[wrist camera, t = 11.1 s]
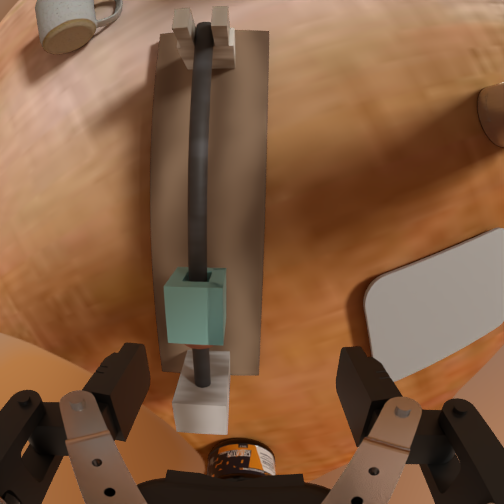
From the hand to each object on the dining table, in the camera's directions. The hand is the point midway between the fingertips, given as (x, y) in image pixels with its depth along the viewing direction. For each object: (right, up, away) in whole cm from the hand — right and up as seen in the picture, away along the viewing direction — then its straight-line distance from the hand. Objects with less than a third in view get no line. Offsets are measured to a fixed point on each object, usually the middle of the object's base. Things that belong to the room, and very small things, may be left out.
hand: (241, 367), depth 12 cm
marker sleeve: (-4, +1, +18) cm, 18 cm away
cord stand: (-4, +9, +21) cm, 24 cm away
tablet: (+27, -2, +25) cm, 37 cm away
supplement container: (-1, -28, +30) cm, 41 cm away
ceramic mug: (-21, +34, +15) cm, 43 cm away
